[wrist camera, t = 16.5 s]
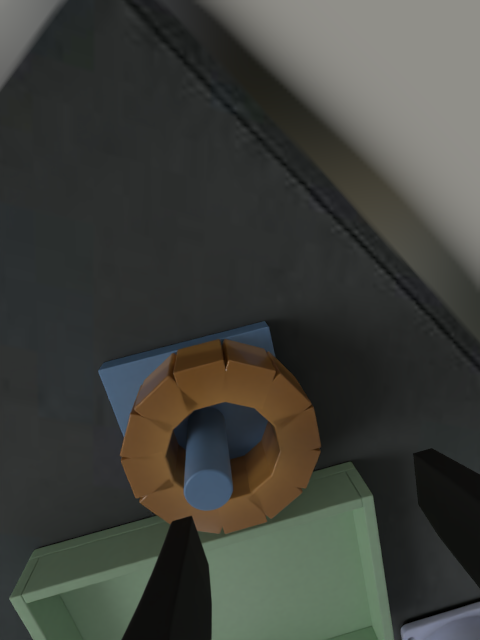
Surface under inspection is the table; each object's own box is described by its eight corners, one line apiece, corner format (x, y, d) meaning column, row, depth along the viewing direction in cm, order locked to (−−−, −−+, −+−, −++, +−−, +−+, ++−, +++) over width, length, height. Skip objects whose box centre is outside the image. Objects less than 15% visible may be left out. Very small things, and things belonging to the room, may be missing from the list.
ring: (314, 465, 18) (333, 503, 15) (163, 507, 18) (157, 554, 15) (284, 321, 16) (300, 339, 13) (110, 366, 15) (92, 393, 13)
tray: (351, 460, 19) (373, 495, 17) (377, 618, 23) (398, 666, 21) (34, 549, 19) (8, 599, 16) (113, 698, 22) (102, 757, 20)
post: (294, 454, 19) (330, 543, 14) (153, 493, 19) (134, 600, 13) (264, 320, 17) (295, 364, 11) (103, 362, 16) (57, 427, 11)
